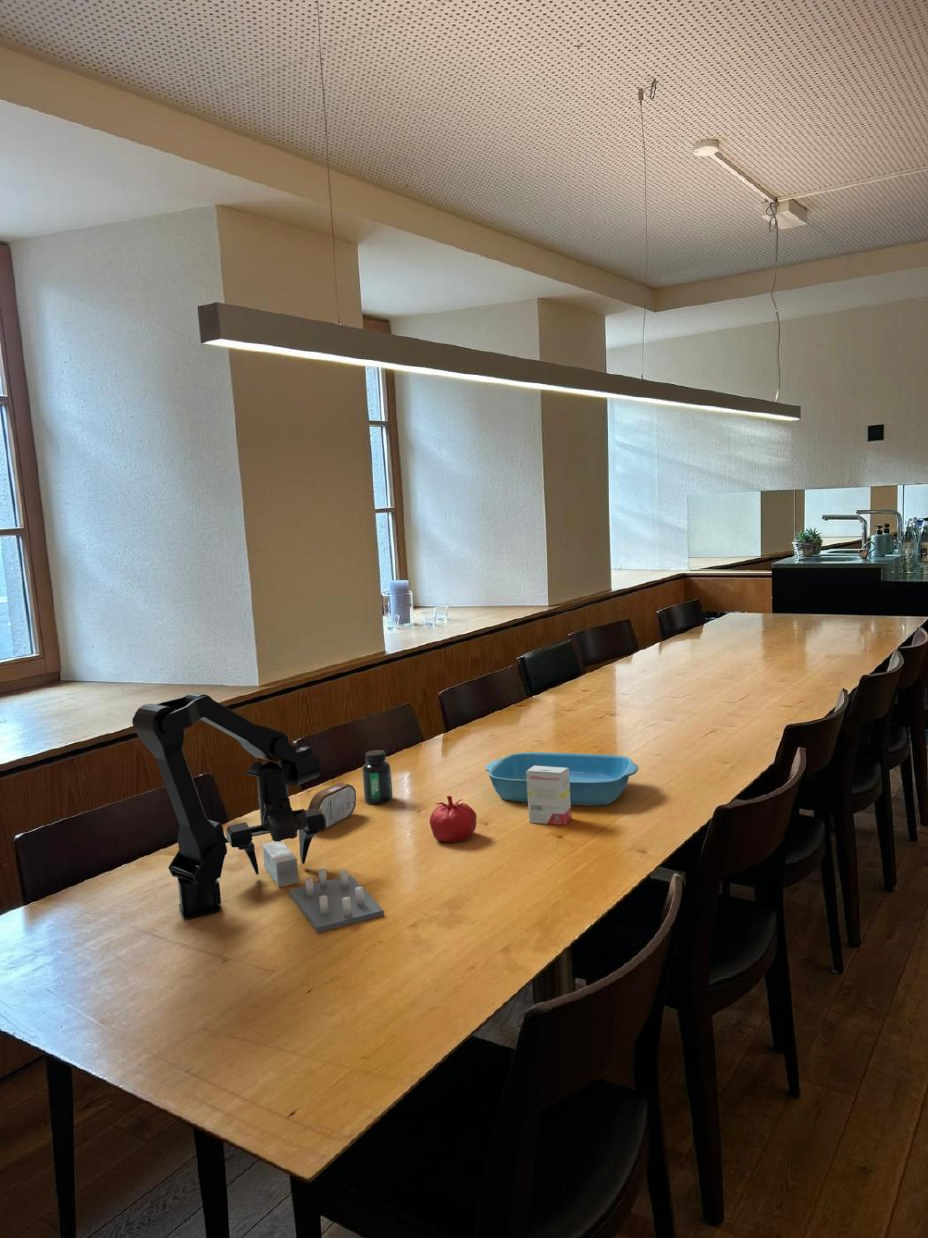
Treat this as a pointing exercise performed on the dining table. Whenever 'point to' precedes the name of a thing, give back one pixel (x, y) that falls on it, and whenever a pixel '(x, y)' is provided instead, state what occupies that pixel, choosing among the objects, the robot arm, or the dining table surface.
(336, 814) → the tin
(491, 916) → the dining table surface
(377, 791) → the supplement bottle
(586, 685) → the dining table surface
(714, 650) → the dining table surface
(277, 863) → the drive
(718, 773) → the dining table surface
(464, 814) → the red tomato
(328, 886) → the grey pegged platform
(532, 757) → the casserole dish
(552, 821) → the ink box
